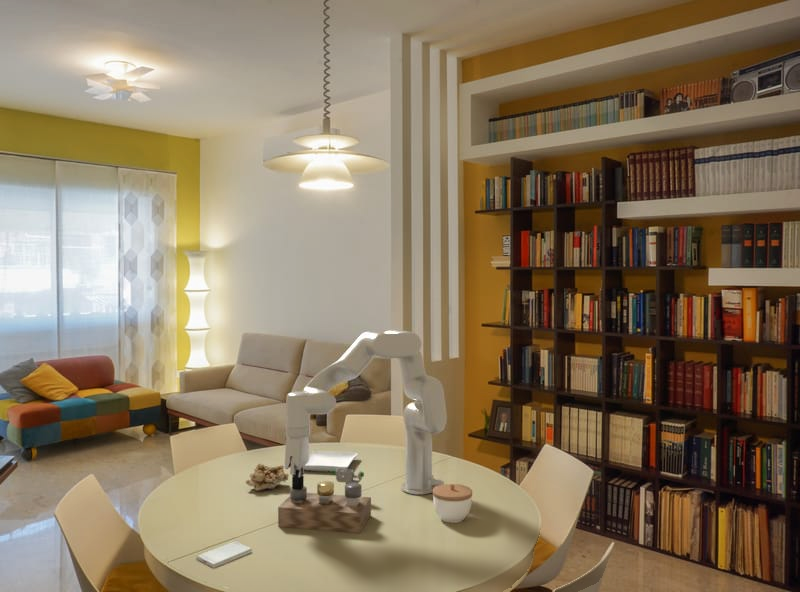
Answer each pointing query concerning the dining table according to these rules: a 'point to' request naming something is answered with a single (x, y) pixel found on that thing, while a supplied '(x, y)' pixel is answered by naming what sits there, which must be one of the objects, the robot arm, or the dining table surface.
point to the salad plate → (329, 460)
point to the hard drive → (224, 554)
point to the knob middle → (325, 492)
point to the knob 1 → (298, 495)
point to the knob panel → (325, 514)
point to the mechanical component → (348, 476)
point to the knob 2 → (353, 494)
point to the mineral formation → (267, 477)
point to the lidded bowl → (452, 502)
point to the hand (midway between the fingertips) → (297, 488)
